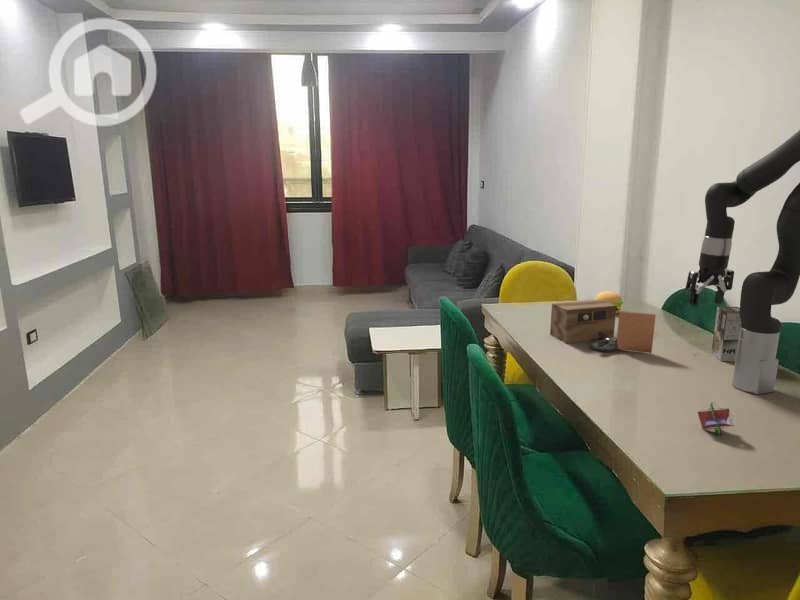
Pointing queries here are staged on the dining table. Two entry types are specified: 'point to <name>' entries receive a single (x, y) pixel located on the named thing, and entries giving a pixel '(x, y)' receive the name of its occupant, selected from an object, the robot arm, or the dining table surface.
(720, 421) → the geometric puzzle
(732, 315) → the coffee box
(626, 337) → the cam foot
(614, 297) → the hamburger
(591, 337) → the wooden box
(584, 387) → the dining table surface
